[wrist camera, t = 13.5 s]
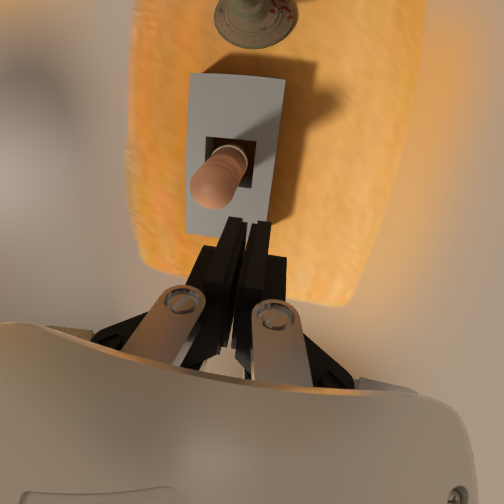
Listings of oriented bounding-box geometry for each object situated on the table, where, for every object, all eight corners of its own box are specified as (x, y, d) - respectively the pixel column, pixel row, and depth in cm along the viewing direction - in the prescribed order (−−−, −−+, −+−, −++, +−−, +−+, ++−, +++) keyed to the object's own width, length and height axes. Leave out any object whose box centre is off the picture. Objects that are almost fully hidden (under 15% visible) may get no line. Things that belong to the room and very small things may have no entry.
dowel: (219, 136, 33) (188, 163, 23) (253, 139, 33) (237, 168, 23) (217, 167, 35) (188, 207, 25) (250, 171, 35) (233, 213, 25)
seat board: (201, 73, 29) (190, 73, 25) (285, 80, 28) (285, 79, 25) (194, 218, 40) (186, 233, 37) (265, 228, 40) (263, 244, 36)
